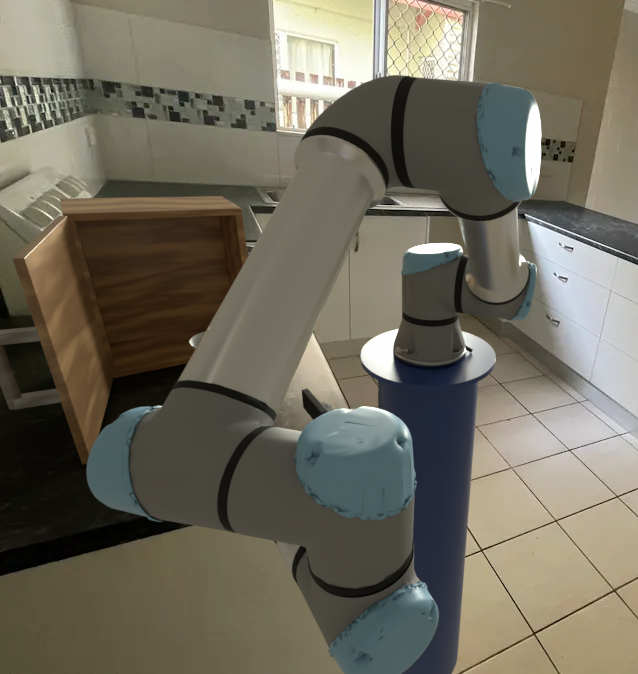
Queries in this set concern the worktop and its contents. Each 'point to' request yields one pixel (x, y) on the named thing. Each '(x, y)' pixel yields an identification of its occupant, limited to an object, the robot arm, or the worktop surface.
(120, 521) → the worktop surface
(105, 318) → the cabinet
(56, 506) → the worktop surface
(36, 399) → the cabinet door
